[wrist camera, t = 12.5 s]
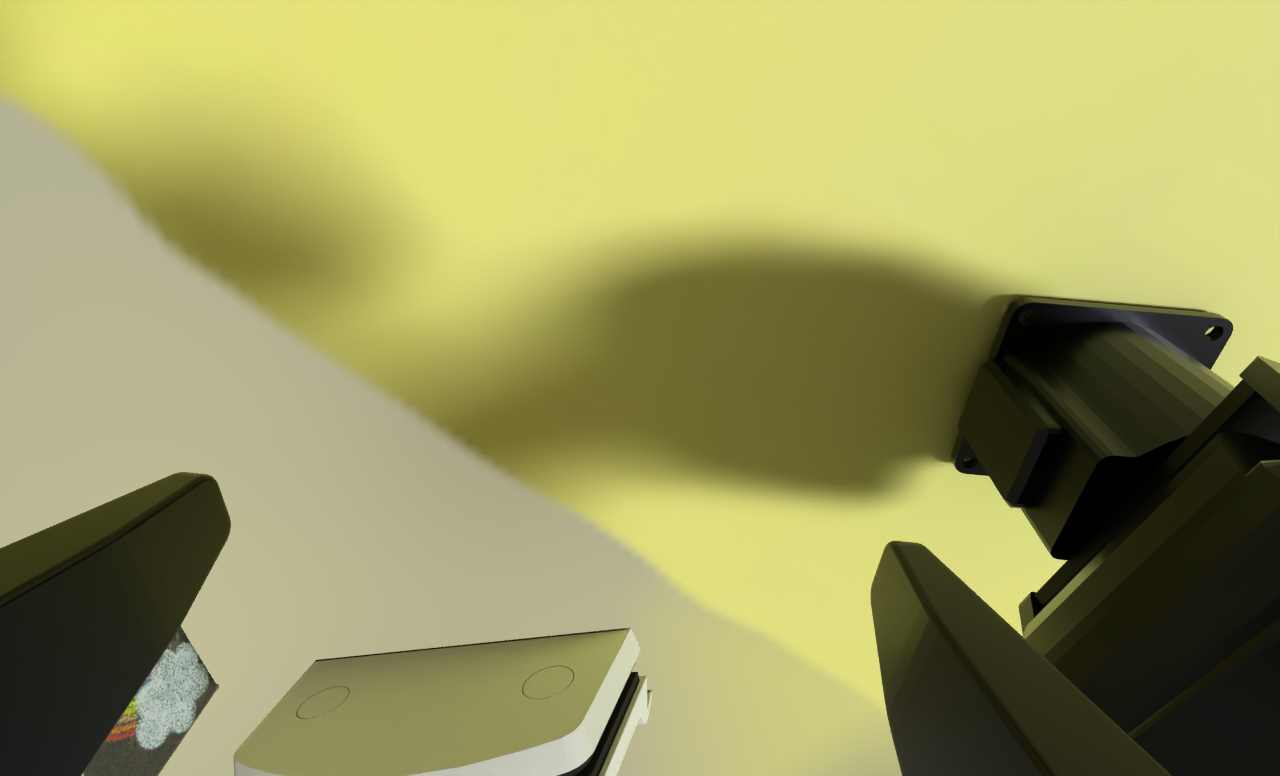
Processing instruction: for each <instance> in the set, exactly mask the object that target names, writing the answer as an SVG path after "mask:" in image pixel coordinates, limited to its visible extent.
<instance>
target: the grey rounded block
mask: <svg viewBox="0 0 1280 776" xmlns="http://www.w3.org/2000/svg"><path fill="white" fill-rule="evenodd" d="M640 651H641V649H640V646H639V644H638V642H637V640H636V638H635V635H634V633H633V631H632V629H631V628H621V629H611V630H601V631H592V632H582V633H572V634H563V635H554V636H543V637H533V638H524V639H515V640H504V641H495V642H485V643H475V644H465V645H457V646H446V647H437V648H426V649H417V650H407V651H397V652H388V653H378V654H368V655H359V656H349V657H339V658H329V659H319V660H316V661H315V662H314V663H313V664H312V665H311V667H310V668H309V669H308V670H307V671H306V672H305V673H304V674H303V676H302V677H301V678H300V679H299V680H298V681H297V682H296V683H295V685H294V686H293V687H292V688H291V689H290V690H289V692H287V694H286V695H285V696H284V697H283V698H282V699H281V700H280V702H279V703H278V704H277V705H276V706H275V707H274V709H272V711H271V712H270V713H269V714H268V715H267V716H266V717H265V718H264V720H263V721H262V722H261V723H260V724H259V725H258V726H257V728H256V729H255V730H254V731H253V732H252V733H251V734H250V736H249V737H248V738H247V739H246V740H245V741H244V742H243V744H242V745H241V746H240V747H239V748H238V749H237V751H236V752H235V754H234V773H235V776H616V775H617V773H618V770H619V768H620V765H621V763H622V760H623V758H624V755H625V753H626V750H627V748H628V745H629V743H630V740H631V738H632V736H633V733H634V731H635V728H636V725H637V724H646V722H647V720H648V716H649V710H650V706H651V700H652V690H647V676H638V672H631V671H632V669H633V667H634V665H635V662H636V660H637V657H638V655H639V653H640Z"/></svg>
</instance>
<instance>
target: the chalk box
mask: <svg viewBox="0 0 1280 776" xmlns="http://www.w3.org/2000/svg"><path fill="white" fill-rule="evenodd" d="M218 688H219V685H218V684H216V683H215V682H214V680H213V678H212V677H211V675H210V673H209V672H208V670H207V669H206V667H205V665H204V664H203V662H202V660H201V659H200V657H199V655H198V654H197V652H196V651H195V649H194V648H193V646H192V645H191V643H190V641H189V640H188V638H187V636H186V634H185V633H184V631H183V629H182V628H181V626H180V627H179V629H178V631H177V633H176V634H175V636H174V638H173V640H172V641H171V643H170V644H169V646H168V647H167V649H166V651H165V652H164V654H163V655H162V657H161V658H160V660H159V661H158V663H157V664H156V666H155V667H154V669H153V670H152V672H151V673H150V675H149V676H148V678H147V679H146V681H145V682H144V684H143V685H142V687H141V688H140V690H139V691H138V693H137V694H136V696H135V697H134V699H133V700H132V702H131V703H130V704H129V706H128V707H127V709H126V710H125V712H124V713H123V715H122V716H121V718H120V719H119V721H118V722H117V724H116V725H115V727H114V728H113V730H112V731H111V733H110V734H109V736H108V737H107V739H106V740H105V742H104V743H103V745H102V746H101V748H100V749H99V751H98V752H97V754H96V755H95V757H94V758H93V760H92V761H91V762H90V764H89V765H88V767H87V768H86V770H85V771H84V773H83V774H82V776H158V775H159V773H160V772H161V770H162V769H163V767H164V766H165V764H166V763H167V761H168V760H169V758H170V757H171V756H172V754H173V753H174V751H175V750H176V749H177V747H178V746H179V744H180V743H181V741H182V740H183V738H184V737H185V735H186V734H187V732H188V731H189V729H190V728H191V726H192V725H193V724H194V722H195V720H196V719H197V718H198V716H199V714H200V713H201V712H202V710H203V709H204V707H205V706H206V704H207V703H208V702H209V700H210V699H211V697H212V696H213V694H214V693H215V692H216V690H217V689H218Z"/></svg>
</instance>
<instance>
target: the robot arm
mask: <svg viewBox="0 0 1280 776" xmlns="http://www.w3.org/2000/svg"><path fill="white" fill-rule="evenodd" d="M1026 310H1031V314H1030V315H1029V317H1027V318H1025V319H1022V320H1019V319H1020V316H1021V314H1022V313H1023V312H1025V311H1026ZM1213 326H1214V329H1213V330H1212V331H1211V332H1210V333H1208V334H1206V335H1205V332H1206V331H1207V330H1208V329H1209V328H1211V327H1213ZM1232 331H1233V325H1232V323H1231V322H1230V321H1229V320H1228V319H1226V318H1224V317H1223V316H1221V315H1219V314H1216V313H1210V312H1198V311H1187V310H1175V309H1163V308H1151V307H1140V306H1128V305H1116V304H1104V303H1092V302H1081V301H1069V300H1057V299H1045V298H1033V297H1024V298H1020V299H1018V300H1015V301H1014V302H1013V303H1012V304H1010V305H1009V307H1008V309H1007V310H1006V313H1005V315H1004V318H1003V321H1002V323H1001V326H1000V328H999V331H998V334H997V336H996V339H995V341H994V344H993V347H992V349H991V352H990V355H989V357H988V359H986V360H985V361H984V362H983V363H982V364H981V365H980V368H979V371H978V373H977V376H976V379H975V381H974V384H973V387H972V389H971V392H970V394H969V397H968V400H967V402H966V405H965V408H964V410H963V413H962V416H961V418H960V421H959V424H958V427H959V429H960V433H959V436H958V438H957V441H956V443H955V446H954V449H953V451H952V454H951V460H952V462H953V464H954V466H955V468H956V469H957V470H958V471H959V472H961V473H965V474H974V475H985V476H989V477H990V478H991V480H992V481H993V483H994V485H995V486H996V488H997V489H998V491H999V492H1000V494H1001V496H1002V497H1003V499H1004V500H1005V501H1006V503H1007V504H1008V505H1009V506H1010V507H1012V508H1021V510H1022V511H1023V513H1024V514H1025V516H1026V517H1027V519H1028V521H1029V522H1030V524H1031V525H1032V527H1033V528H1034V530H1035V531H1036V533H1037V534H1038V536H1039V537H1040V539H1041V540H1042V542H1043V544H1044V545H1045V547H1046V548H1047V550H1048V551H1049V553H1050V554H1051V556H1052V557H1053V558H1056V559H1061V560H1068V561H1067V562H1066V563H1065V564H1064V565H1063V566H1062V567H1061V568H1060V569H1059V570H1058V571H1057V572H1056V573H1055V574H1054V575H1053V576H1052V577H1051V578H1050V579H1049V580H1048V581H1047V582H1046V583H1045V584H1044V585H1043V586H1042V587H1041V588H1040V589H1039V590H1038V592H1037V593H1036V592H1031V593H1030V594H1029V595H1028V596H1027V597H1026V598H1025V599H1024V600H1023V601H1022V602H1021V603H1020V604H1019V612H1020V618H1021V625H1022V632H1023V636H1021V635H1020V634H1019V633H1018V632H1017V631H1016V630H1015V629H1014V628H1012V627H1011V626H1010V625H1009V624H1008V623H1007V622H1006V621H1005V620H1004V619H1003V618H1002V617H1001V616H999V615H998V614H997V613H996V612H995V611H994V610H993V609H992V608H991V607H990V606H989V605H988V604H987V603H985V602H984V601H983V600H982V599H981V598H980V597H979V596H978V595H977V594H976V593H975V592H974V591H973V590H971V589H970V588H969V587H968V586H967V585H966V584H965V583H964V582H963V581H962V580H961V579H960V578H959V577H957V576H956V575H955V574H954V573H953V572H952V571H951V570H950V569H949V568H948V567H947V566H946V565H945V564H943V563H942V562H941V561H940V560H939V559H938V558H937V557H936V556H935V555H934V554H933V553H932V552H931V551H929V550H928V549H927V548H926V547H925V546H923V545H922V544H919V543H912V542H902V541H891V542H889V543H888V544H887V545H886V547H885V549H884V551H883V554H882V557H881V560H880V563H879V565H878V568H877V571H876V574H875V577H874V580H873V583H872V587H871V607H872V614H873V621H874V628H875V635H876V642H877V649H878V656H879V663H880V670H881V677H882V684H883V691H884V698H885V704H886V710H887V716H888V721H889V725H890V729H891V733H892V738H893V742H894V746H895V750H896V753H897V757H898V761H899V765H900V769H901V773H902V776H1280V363H1277V362H1274V361H1272V360H1269V359H1266V358H1264V357H1261V356H1257V357H1256V358H1255V359H1254V361H1253V362H1252V363H1251V364H1250V365H1249V366H1248V367H1247V368H1246V369H1245V370H1244V371H1243V372H1242V373H1241V374H1240V375H1239V376H1240V377H1241V378H1242V379H1243V380H1242V381H1241V382H1240V383H1239V384H1238V385H1237V386H1236V387H1234V386H1232V385H1231V384H1230V383H1228V382H1227V381H1225V380H1224V379H1222V378H1221V377H1220V376H1218V375H1217V374H1215V373H1214V372H1212V371H1211V368H1212V367H1213V365H1214V363H1215V361H1216V360H1217V358H1218V356H1219V355H1220V353H1221V351H1222V350H1223V348H1224V346H1225V344H1226V343H1227V341H1228V339H1229V338H1230V336H1231V334H1232ZM970 456H973V457H972V458H971V459H970V460H968V461H963V460H964V459H965V458H967V457H970ZM230 528H231V522H230V517H229V514H228V511H227V509H226V506H225V503H224V500H223V497H222V494H221V491H220V488H219V486H218V483H217V481H216V480H215V479H214V478H213V477H212V476H210V475H207V474H198V473H188V472H180V473H175V474H173V475H170V476H168V477H166V478H163V479H161V480H159V481H156V482H154V483H152V484H150V485H148V486H145V487H142V488H140V489H138V490H136V491H133V492H131V493H128V494H126V495H124V496H121V497H119V498H117V499H114V500H112V501H110V502H107V503H105V504H103V505H101V506H98V507H96V508H94V509H91V510H89V511H87V512H85V513H82V514H80V515H77V516H75V517H73V518H70V519H68V520H66V521H63V522H61V523H59V524H56V525H54V526H52V527H49V528H47V529H45V530H42V531H40V532H38V533H35V534H33V535H31V536H28V537H26V538H24V539H21V540H19V541H17V542H14V543H12V544H10V545H7V546H5V547H3V548H0V776H82V774H83V773H84V771H85V770H86V768H87V767H88V765H89V764H90V762H91V761H92V760H93V758H94V757H95V755H96V754H97V752H98V751H99V749H100V748H101V746H102V745H103V743H104V742H105V740H106V739H107V737H108V736H109V734H110V733H111V731H112V730H113V728H114V727H115V725H116V724H117V722H118V721H119V719H120V718H121V716H122V715H123V713H124V712H125V710H126V709H127V707H128V706H129V704H130V703H131V702H132V700H133V699H134V697H135V696H136V694H137V693H138V691H139V690H140V688H141V687H142V685H143V684H144V682H145V681H146V679H147V678H148V676H149V675H150V673H151V672H152V670H153V669H154V667H155V666H156V664H157V663H158V661H159V660H160V658H161V657H162V655H163V654H164V652H165V651H166V649H167V647H168V646H169V644H170V643H171V641H172V640H173V638H174V636H175V634H176V633H177V631H178V629H179V627H180V625H181V624H182V622H183V620H184V618H185V617H186V615H187V613H188V611H189V609H190V607H191V606H192V603H193V602H194V600H195V598H196V596H197V594H198V593H199V591H200V589H201V587H202V585H203V583H204V581H205V580H206V577H207V576H208V574H209V572H210V570H211V569H212V567H213V565H214V563H215V561H216V559H217V557H218V555H219V554H220V552H221V550H222V548H223V546H224V545H225V543H226V541H227V539H228V536H229V533H230Z"/></svg>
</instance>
